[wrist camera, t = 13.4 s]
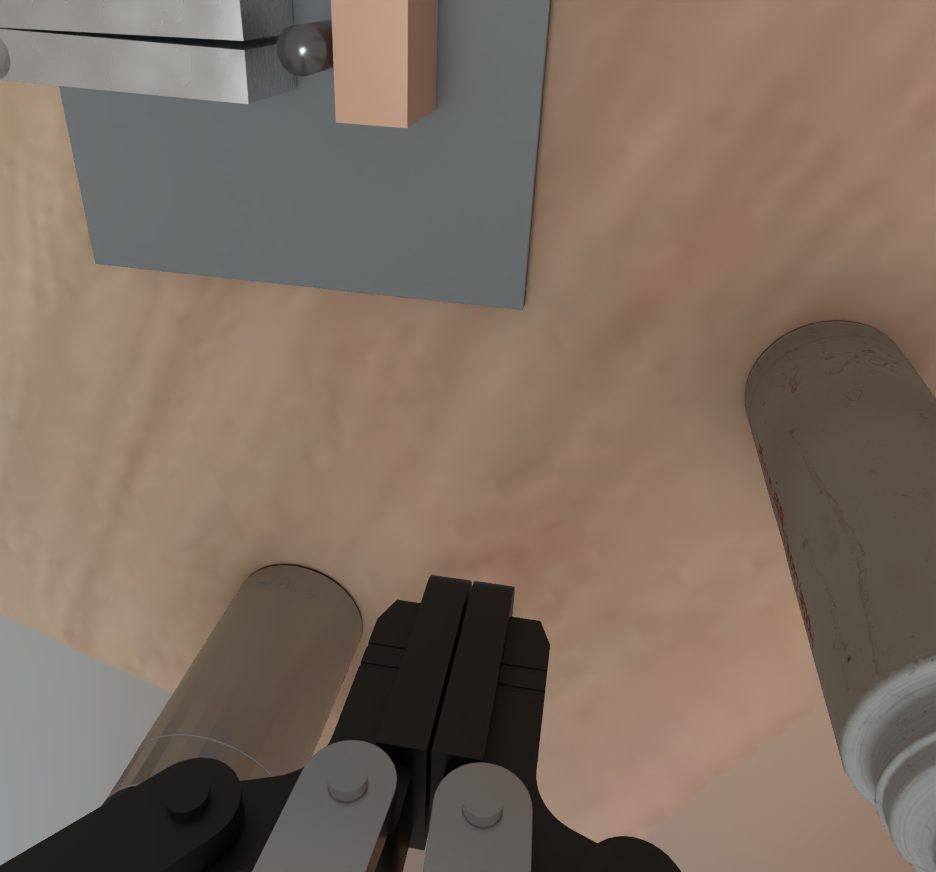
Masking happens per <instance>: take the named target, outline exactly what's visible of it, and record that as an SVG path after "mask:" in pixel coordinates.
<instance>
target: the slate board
mask: <svg viewBox="0 0 936 872" xmlns="http://www.w3.org/2000/svg"><path fill="white" fill-rule="evenodd" d="M550 9H551V0H438V36H437V79H436V109H435V110H434V111H432V112H431V113H429V114H428V115H426V116H425V117H423V118H422V119H420V120H419V121H417V122H416V123H414V124H413V125H411V126H410V127H408V128H397V127H385V126H373V125H360V124H348V123H336V116H335V90H334V68H331V69H328V70H325V71H321V72H318V73H315V74H311V75H308V76H304V77H300V76H296V82H297V88H296V89H293V90H290V91H287V92H284V93H281V94H278V95H275V96H272V97H269V98H266V99H263V100H260V101H257V102H254V103H251V104H241V103H231V102H220V101H210V100H199V99H189V98H179V97H168V96H158V95H147V94H137V93H127V92H116V91H106V90H95V89H85V88H75V87H64V86H59V88H60V93H61V98H62V102H63V107H64V112H65V117H66V122H67V127H68V132H69V137H70V141H71V146H72V151H73V156H74V161H75V166H76V171H77V176H78V181H79V185H80V190H81V195H82V200H83V205H84V210H85V215H86V220H87V224H88V229H89V234H90V239H91V244H92V249H93V254H94V259H95V263H96V264H103V265H112V266H121V267H130V268H139V269H149V270H158V271H167V272H176V273H185V274H195V275H204V276H213V277H222V278H232V279H241V280H250V281H259V282H268V283H278V284H287V285H296V286H305V287H314V288H324V289H333V290H342V291H351V292H360V293H370V294H379V295H388V296H397V297H406V298H416V299H425V300H434V301H443V302H453V303H462V304H471V305H480V306H489V307H499V308H508V309H517V310H523V308H524V305H525V294H526V282H527V271H528V259H529V248H530V237H531V225H532V214H533V203H534V191H535V180H536V168H537V157H538V146H539V134H540V123H541V112H542V100H543V89H544V77H545V66H546V55H547V43H548V32H549V20H550ZM292 10H293V24H294V25H297V24H304V23H312V22H319V21H326V20H332V13H331V0H292ZM278 37H279V35H277V36H271V37H265V38H266V39H278Z"/></svg>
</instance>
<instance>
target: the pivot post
mask: <svg viewBox="0 0 936 872" xmlns="http://www.w3.org/2000/svg"><path fill="white" fill-rule="evenodd" d="M277 55H278V58H279V61H280V63H281V64H282V66H283V67H284V68H285V69H286V70H287V71H288V72H289V73H291V74H293V75H295V76H300V77H304V76H308V75H311V74H315V73H318V72H321V71H325V70H328V69H331V68H334V65H333V39H332V20H326V21H319V22H312V23H304V24H297V25H291V26H288V27H287V28H285V29H284V30H283V31H282V32H281V33H280V35H279V37H278V40H277Z"/></svg>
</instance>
